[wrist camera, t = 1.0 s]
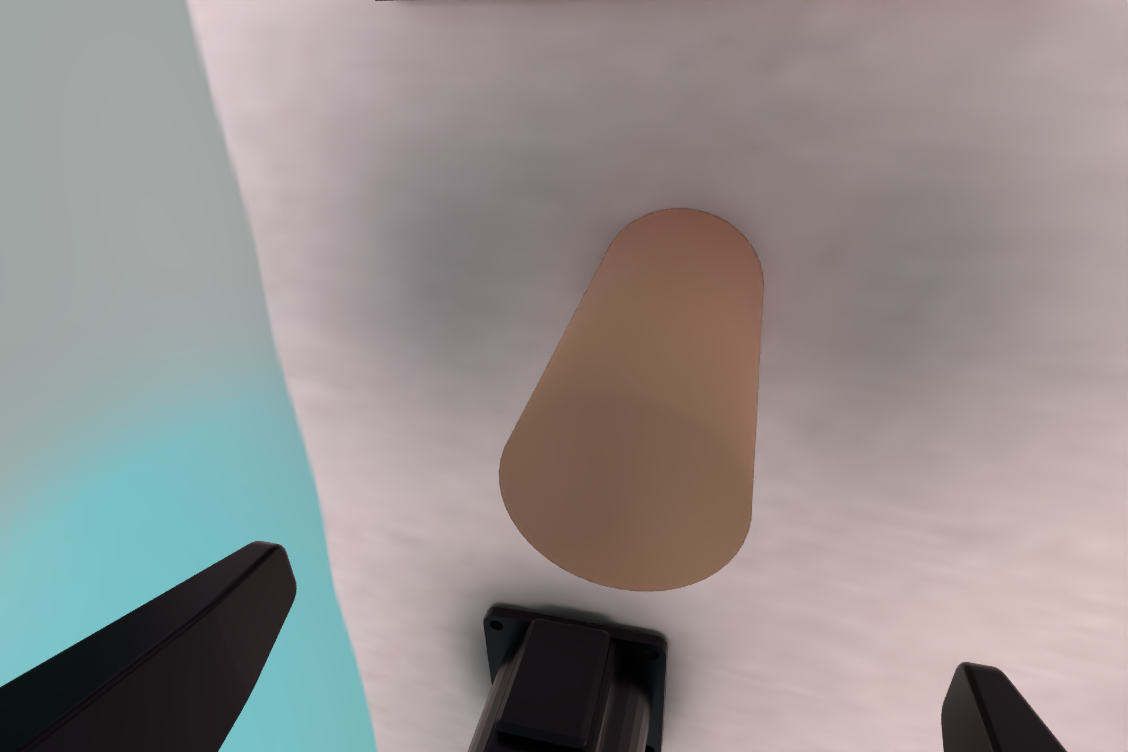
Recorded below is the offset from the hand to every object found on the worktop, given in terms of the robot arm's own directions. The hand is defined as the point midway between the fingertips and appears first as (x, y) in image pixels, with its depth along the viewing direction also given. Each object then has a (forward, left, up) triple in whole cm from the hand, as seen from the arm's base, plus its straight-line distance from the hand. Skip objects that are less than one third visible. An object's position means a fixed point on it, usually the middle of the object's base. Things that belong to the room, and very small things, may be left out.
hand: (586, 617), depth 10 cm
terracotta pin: (0, 0, -10) cm, 10 cm away
